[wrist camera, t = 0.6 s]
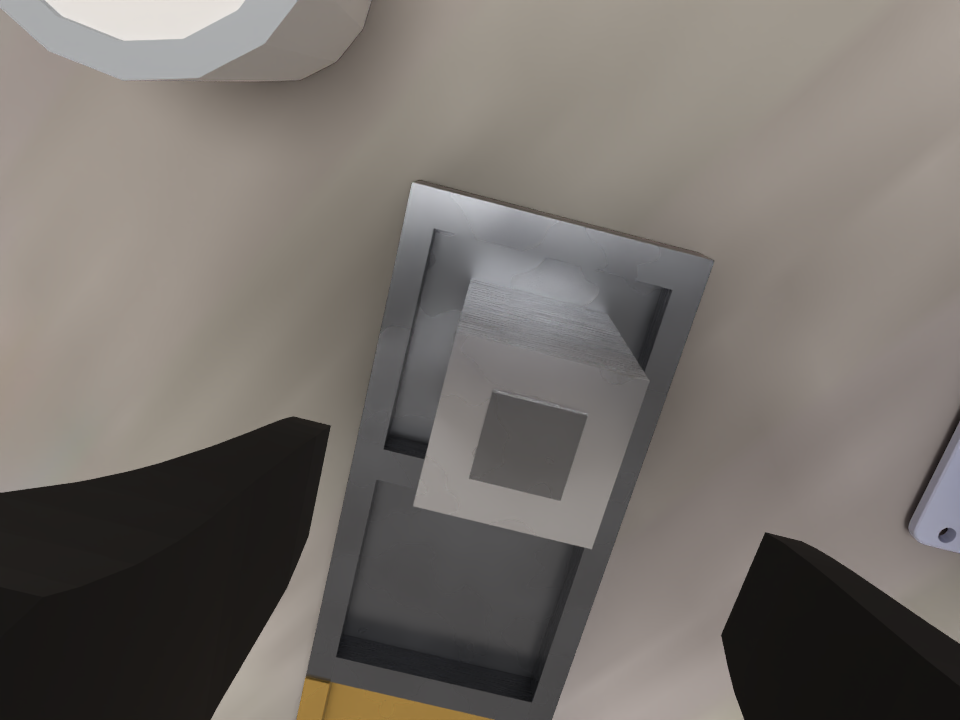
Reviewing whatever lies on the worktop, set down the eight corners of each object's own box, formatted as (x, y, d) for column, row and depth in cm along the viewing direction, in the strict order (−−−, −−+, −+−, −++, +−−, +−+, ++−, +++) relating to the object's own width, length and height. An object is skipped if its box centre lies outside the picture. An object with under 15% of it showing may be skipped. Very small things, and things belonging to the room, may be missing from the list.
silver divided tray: (698, 252, 19) (715, 261, 18) (491, 851, 26) (490, 894, 25) (419, 179, 19) (412, 182, 17) (283, 804, 26) (269, 845, 24)
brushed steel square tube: (606, 313, 20) (650, 382, 14) (567, 438, 21) (592, 551, 15) (470, 278, 19) (456, 333, 14) (438, 406, 21) (412, 508, 15)
